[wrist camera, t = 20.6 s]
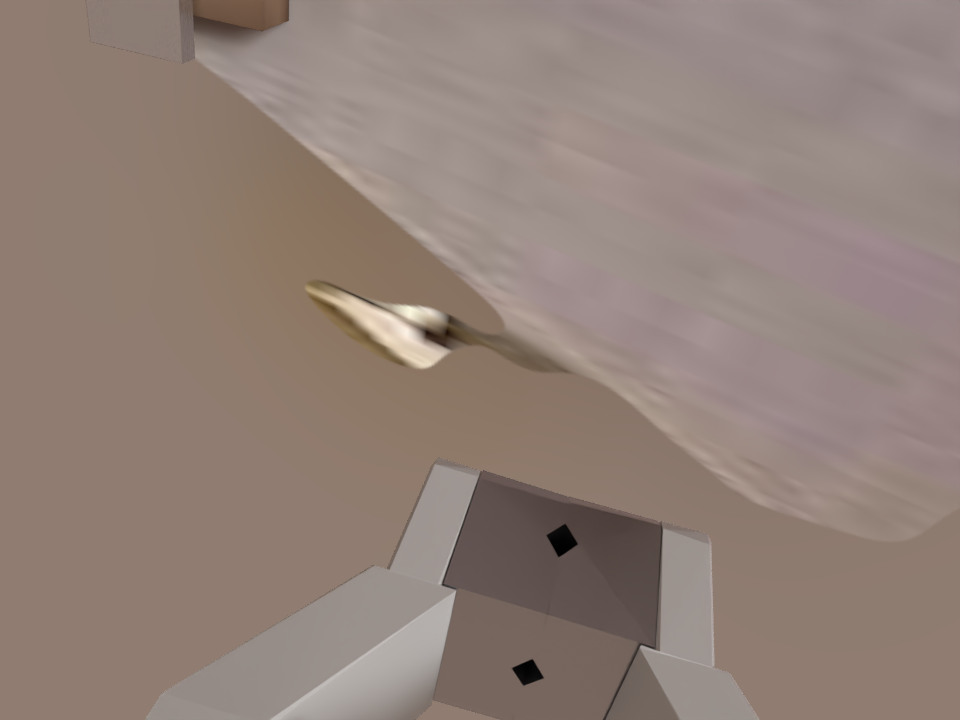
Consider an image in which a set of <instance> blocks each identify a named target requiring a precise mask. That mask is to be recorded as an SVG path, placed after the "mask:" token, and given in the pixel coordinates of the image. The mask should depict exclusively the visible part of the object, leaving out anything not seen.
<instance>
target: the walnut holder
mask: <svg viewBox="0 0 960 720" xmlns="http://www.w3.org/2000/svg"><path fill="white" fill-rule="evenodd" d="M192 2H193V15H194V16H199V17H203V18H207V19H212V20H216V21H220V22H225V23H229V24H233V25H238V26H242V27H247V28H251V29H255V30H260V31H264V30H266V29H269V28H271V27H274V26H276V25H279V24H281V23H284V22H286V21H289V0H192Z"/></svg>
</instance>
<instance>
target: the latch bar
mask: <svg viewBox="0 0 960 720" xmlns="http://www.w3.org/2000/svg"><path fill="white" fill-rule="evenodd" d="M86 6H87V15H88V24H89V32H90V41H91V42H93V43H97V44H102V45H106V46H110V47H114V48H118V49H123V50H127V51H131V52H135V53H140V54H144V55H148V56H152V57H156V58H161V59H165V60H169V61H174V62H178V63H185V62H188V61H191V60H193V59H195V47H194V24H193V2H192V0H86Z"/></svg>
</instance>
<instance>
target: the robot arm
mask: <svg viewBox="0 0 960 720" xmlns="http://www.w3.org/2000/svg"><path fill="white" fill-rule="evenodd" d="M711 561H712V557H711V541H710V539H709V537H708V535H707V534H706V533H702V532H699V531H695V530H691V529H687V528H683V527H680V526H676V525H673V524H669V523H665V522H662V521H661V522H658V521H656V520H653V519H649V518H645V517H642V516H638V515H634V514H631V513H627V512H624V511H620V510H616V509H612V508H609V507H606V506H602V505H598V504H595V503H591V502H587V501H584V500H580V499H576V498H573V497H567V496H564V495H561V494H558V493H554V492H552V491H548V490H545V489H542V488H538V487H536V486H532V485H529V484H526V483H522V482H519V481H516V480H513V479H510V478H506V477H503V476H500V475H496V474H494V473H490V472H487V471H484V470H483V471H480V470H477V469H473V468H470V467H467V466H464V465H461V464H458V463H455V462H451V461H448V460H445V459H442V458H438V459H437V460H436V461H435V462H434V464H433V465H432V466H431V468H430V471H429V473H428V475H427V477H426V480H425V482H424V485H423V487H422V489H421V491H420V494H419V496H418V498H417V500H416V503H415V505H414V507H413V510H412V512H411V515H410V517H409V519H408V521H407V523H406V526H405V528H404V530H403V533H402V535H401V537H400V540H399V542H398V544H397V547H396V549H395V551H394V553H393V556H392V558H391V560H390V563H389V565H388V567H387V569H386V568H382V567H378V566H374V565H372V566H371V567H369V568H367V569H366V570H364V571H362V572H361V573H359V574H358V575H356V576H354V577H353V578H351V579H349V580H348V581H346V582H344V583H343V584H341V585H339V586H338V587H336V588H334V589H333V590H331V591H329V592H328V593H326V594H325V595H323V596H321V597H320V598H318V599H316V600H315V601H313V602H311V603H310V604H308V605H306V606H305V607H303V608H301V609H300V610H298V611H296V612H295V613H293V614H292V615H290V616H288V617H287V618H285V619H283V620H282V621H280V622H279V623H277V624H275V625H273V626H272V627H270V628H268V629H267V630H265V631H264V632H262V633H260V634H259V635H257V636H255V637H254V638H252V639H250V640H249V641H247V642H246V643H244V644H242V645H241V646H239V647H237V648H235V649H234V650H232V651H230V652H229V653H227V654H226V655H224V656H222V657H221V658H219V659H217V660H216V661H214V662H213V663H211V664H209V665H207V666H206V667H204V668H202V669H201V670H199V671H198V672H196V673H194V674H193V675H191V676H189V677H188V678H186V679H184V680H183V681H181V682H179V683H178V684H176V685H174V686H173V687H171V688H169V689H168V690H166V691H165V692H163V693H162V694H161V696H160V697H159V699H158V700H157V702H156V703H155V705H154V707H153V708H152V710H151V711H150V713H149V714H148V716H147V717H146V719H145V720H416V719H417V718H418V717H419V716H420V715H421V714H422V713H423V712H425V711H426V710H427V709H428V708H429V707H430V706H431V704H432V700H434V701H438V702H441V703H445V704H448V705H452V706H455V707H459V708H462V709H466V710H469V711H472V712H476V713H480V714H483V715H486V716H490V717H494V718H497V719H500V720H760V719H759V718H758V717H757V715H756V713H755V712H754V710H753V709H752V707H751V705H750V704H749V702H748V701H747V699H746V698H745V696H744V694H743V693H742V691H741V690H740V688H739V687H738V685H737V684H736V682H735V680H734V679H733V677H732V676H731V674H730V673H729V672H726V671H723V670H720V669H717V668H714V634H713V597H712V596H713V595H712V562H711Z"/></svg>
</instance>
